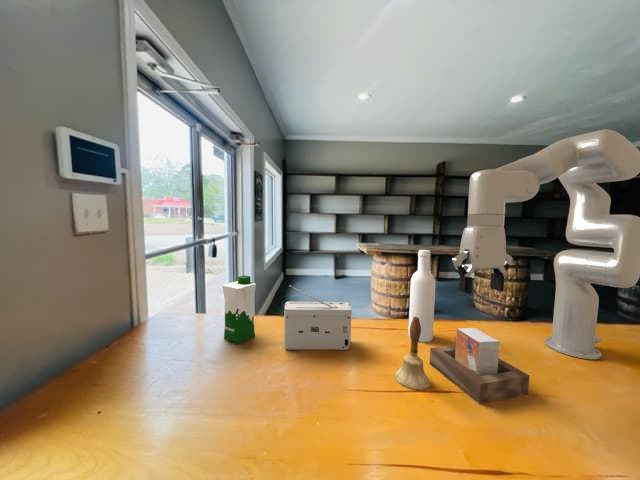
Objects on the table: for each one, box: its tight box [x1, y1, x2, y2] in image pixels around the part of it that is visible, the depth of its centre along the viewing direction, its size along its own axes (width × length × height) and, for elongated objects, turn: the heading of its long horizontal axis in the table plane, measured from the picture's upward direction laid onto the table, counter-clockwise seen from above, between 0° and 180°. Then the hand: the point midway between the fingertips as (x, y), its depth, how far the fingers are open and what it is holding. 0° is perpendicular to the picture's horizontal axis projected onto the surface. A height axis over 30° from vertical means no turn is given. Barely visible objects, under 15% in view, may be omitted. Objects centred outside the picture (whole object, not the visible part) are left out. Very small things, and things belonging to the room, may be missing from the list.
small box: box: [455, 327, 501, 376], centre depth 64 cm, size 8×6×10 cm
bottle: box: [407, 249, 436, 343], centre depth 86 cm, size 8×8×30 cm
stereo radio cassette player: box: [283, 284, 352, 351], centre depth 79 cm, size 21×8×20 cm, turn 92°
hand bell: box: [394, 317, 431, 391], centre depth 63 cm, size 8×8×16 cm
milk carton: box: [222, 275, 257, 345], centre depth 83 cm, size 9×9×20 cm
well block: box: [429, 344, 530, 405], centre depth 64 cm, size 14×16×4 cm
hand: (481, 291), depth 63 cm, fingers open, 9 cm apart
